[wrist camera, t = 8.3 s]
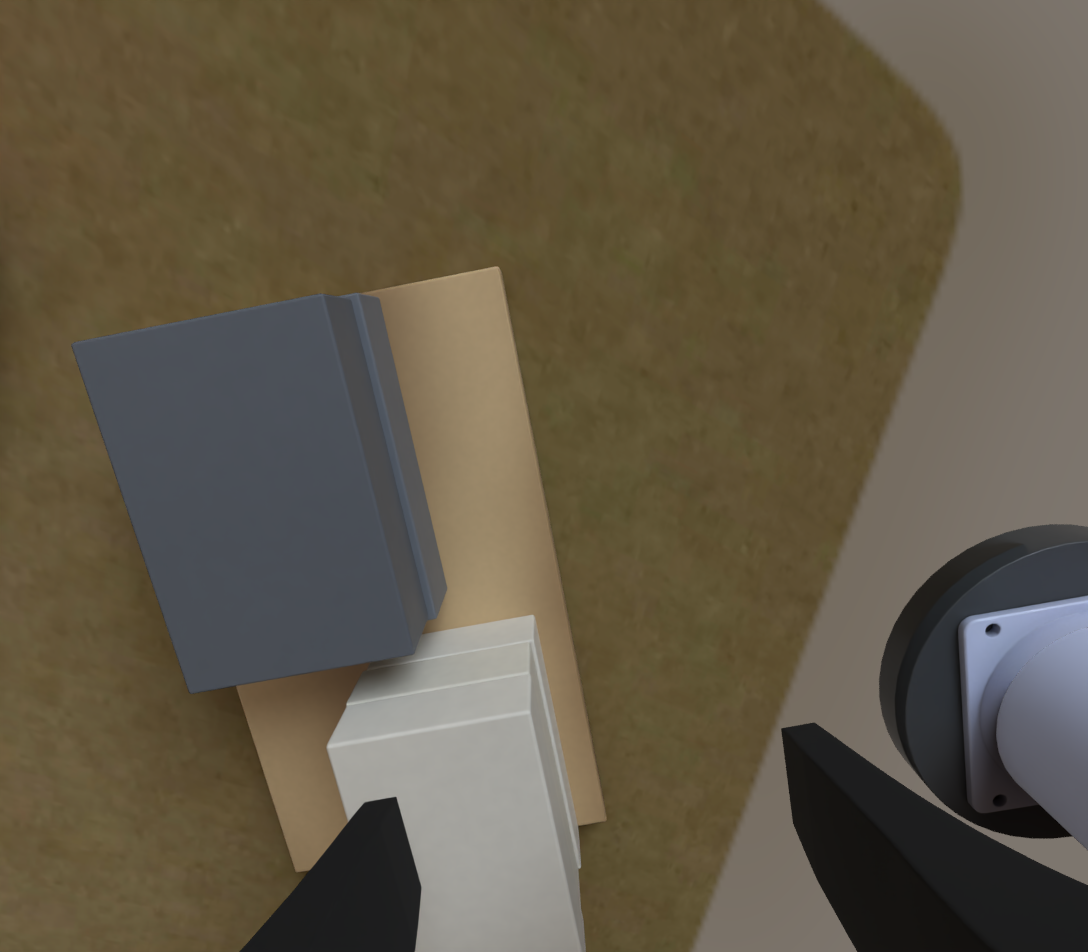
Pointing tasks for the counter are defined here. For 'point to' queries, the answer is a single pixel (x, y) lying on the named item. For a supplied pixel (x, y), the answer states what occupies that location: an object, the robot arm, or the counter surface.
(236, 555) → the grey books
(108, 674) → the counter surface
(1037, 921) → the robot arm
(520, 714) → the white book
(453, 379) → the shelf board
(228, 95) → the counter surface
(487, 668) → the white books
